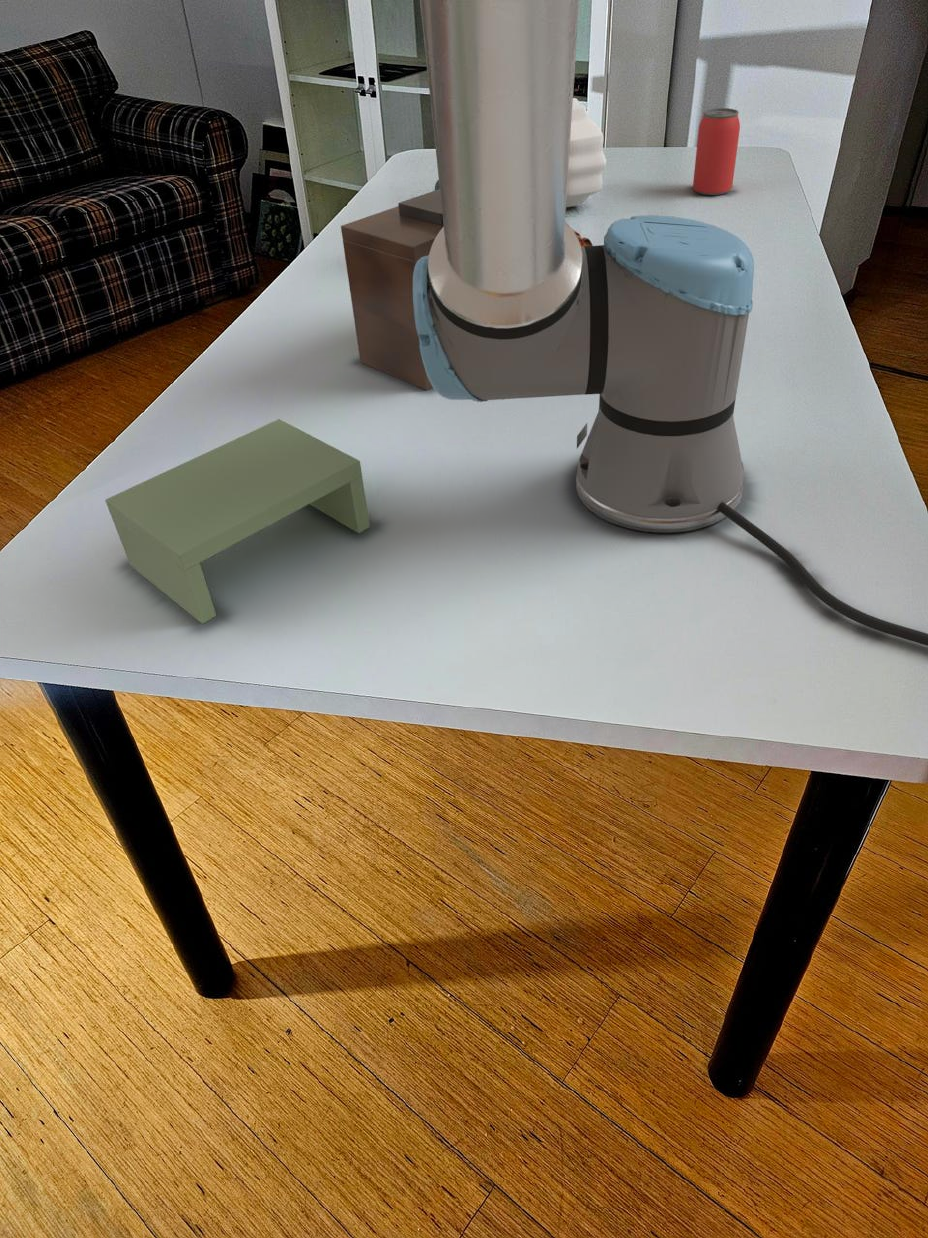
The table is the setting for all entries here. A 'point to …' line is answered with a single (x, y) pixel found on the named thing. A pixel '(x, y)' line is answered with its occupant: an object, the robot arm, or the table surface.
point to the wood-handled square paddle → (424, 207)
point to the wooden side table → (387, 290)
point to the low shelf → (231, 505)
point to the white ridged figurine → (584, 157)
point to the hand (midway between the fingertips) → (505, 264)
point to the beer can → (716, 151)
